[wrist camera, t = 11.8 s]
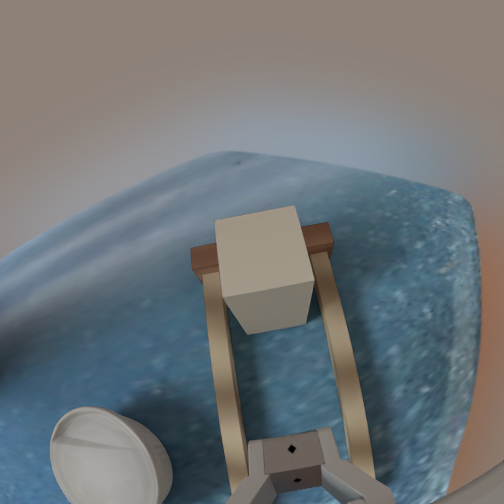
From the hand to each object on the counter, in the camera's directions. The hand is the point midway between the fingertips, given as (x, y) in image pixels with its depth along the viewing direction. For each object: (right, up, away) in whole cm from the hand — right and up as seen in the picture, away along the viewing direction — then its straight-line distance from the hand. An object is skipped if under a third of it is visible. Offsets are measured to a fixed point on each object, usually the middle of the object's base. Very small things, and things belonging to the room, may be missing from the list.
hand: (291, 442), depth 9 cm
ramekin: (-13, -12, +11) cm, 21 cm away
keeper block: (0, +2, +17) cm, 17 cm away
